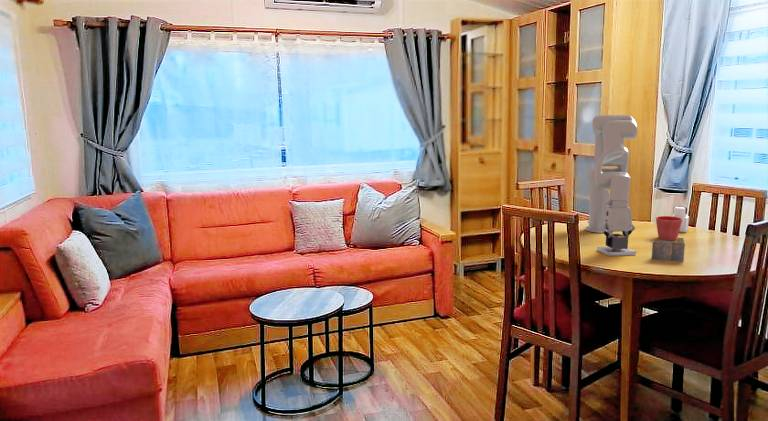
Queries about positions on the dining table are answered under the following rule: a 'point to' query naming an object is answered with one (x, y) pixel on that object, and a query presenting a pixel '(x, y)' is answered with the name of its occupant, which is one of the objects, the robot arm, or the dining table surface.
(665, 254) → the ruin model on sheet
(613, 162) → the robot arm
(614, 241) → the gray rectangular sleeve
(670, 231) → the flower pot
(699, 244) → the dining table surface
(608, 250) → the post
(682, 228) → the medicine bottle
